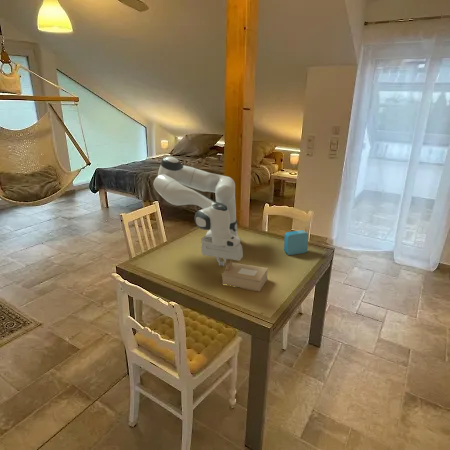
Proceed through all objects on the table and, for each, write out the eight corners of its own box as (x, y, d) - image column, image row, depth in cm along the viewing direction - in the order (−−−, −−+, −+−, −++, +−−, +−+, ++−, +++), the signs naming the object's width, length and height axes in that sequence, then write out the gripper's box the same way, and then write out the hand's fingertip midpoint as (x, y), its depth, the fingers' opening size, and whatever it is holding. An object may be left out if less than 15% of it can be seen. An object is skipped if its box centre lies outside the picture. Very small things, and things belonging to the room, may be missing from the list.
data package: (303, 249, 197) (304, 229, 193) (307, 252, 193) (308, 232, 189) (283, 252, 194) (284, 232, 190) (287, 255, 190) (287, 235, 186)
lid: (221, 275, 162) (221, 268, 160) (231, 263, 172) (231, 256, 171) (259, 281, 155) (259, 274, 153) (267, 269, 165) (268, 262, 164)
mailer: (222, 284, 164) (222, 275, 162) (232, 273, 174) (232, 264, 172) (259, 291, 157) (259, 282, 155) (267, 279, 167) (267, 269, 165)
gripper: (198, 238, 164) (199, 264, 168) (238, 243, 156) (239, 271, 161) (204, 233, 169) (205, 259, 174) (243, 238, 161) (244, 265, 166)
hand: (222, 265), depth 167 cm, fingers closed
